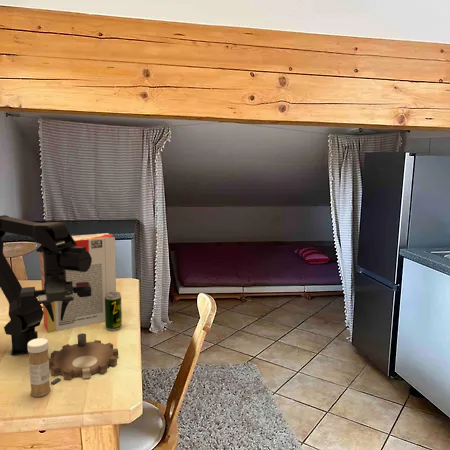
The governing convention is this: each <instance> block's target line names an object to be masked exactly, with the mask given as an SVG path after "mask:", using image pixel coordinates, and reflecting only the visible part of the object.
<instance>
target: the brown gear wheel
mask: <svg viewBox="0 0 450 450" xmlns="http://www.w3.org/2000/svg"><path fill="white" fill-rule="evenodd" d="M118 358H119V349H118V348H114V344H113V343H111V342H108V343H102V340H101V339H100V340H99V339H97V340H96V339H95V340H94V341H92V342H91V341H89V342H88V341H87V334H86V333H79V334H77V343H74V344H69V343H68V344H65V345H62V347H61V349H60V350H53V351H52V352H51V353H50V358H48V359H49V370H50V373H51V374H50V375H53V376H54V377H56V376H58V375H62V376H63V379H65V380H72V378H73V377H82V380H84V379H89V378H91V375H94V374H97V373H99V374H101V375H103V374H105V373H106V372H108V368H109V367H115V366H116V365H117V363H118Z"/></svg>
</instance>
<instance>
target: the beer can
mask: <svg viewBox="0 0 450 450" xmlns="http://www.w3.org/2000/svg"><path fill="white" fill-rule="evenodd" d="M122 314H123V313H122V295H121V292H119V291H116V292H108V293H106V294H105V322H104V323H105V329H106V330H107V331H110V332H113V331H114V332H115V331H119V330H121V328H122V327H123V325H122V324H123V323H122V322H123V321H122V318H123V317H122Z"/></svg>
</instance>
